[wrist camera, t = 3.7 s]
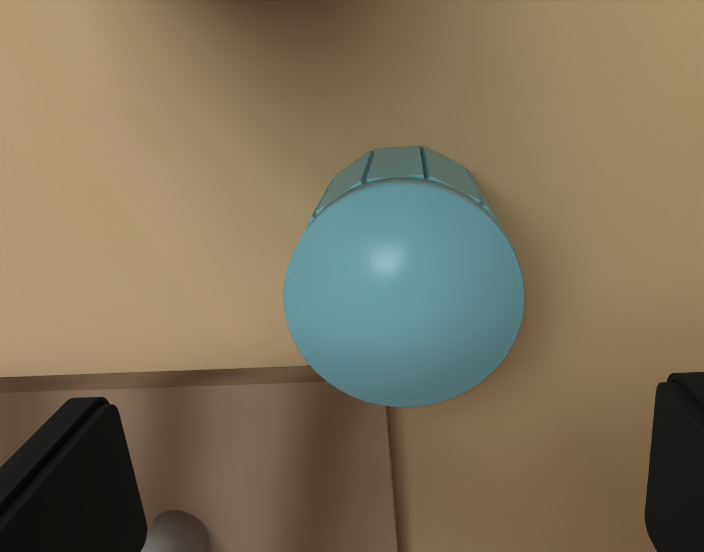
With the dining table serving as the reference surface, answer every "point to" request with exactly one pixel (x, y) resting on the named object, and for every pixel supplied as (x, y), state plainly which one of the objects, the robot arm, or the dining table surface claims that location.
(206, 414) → the post board
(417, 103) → the dining table surface
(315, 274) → the cap
